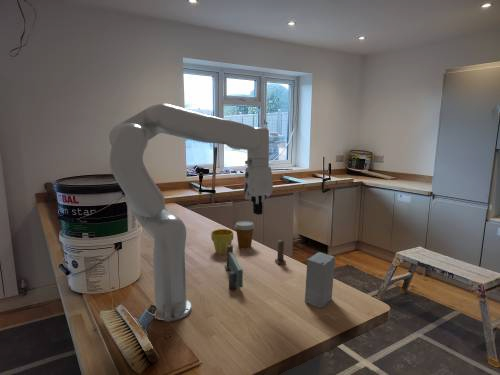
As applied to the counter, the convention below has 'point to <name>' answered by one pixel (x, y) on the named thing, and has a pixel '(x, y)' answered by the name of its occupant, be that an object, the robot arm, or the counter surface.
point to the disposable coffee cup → (244, 233)
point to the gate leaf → (236, 269)
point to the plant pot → (221, 240)
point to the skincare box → (319, 279)
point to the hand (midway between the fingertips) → (257, 213)
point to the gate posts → (232, 275)
